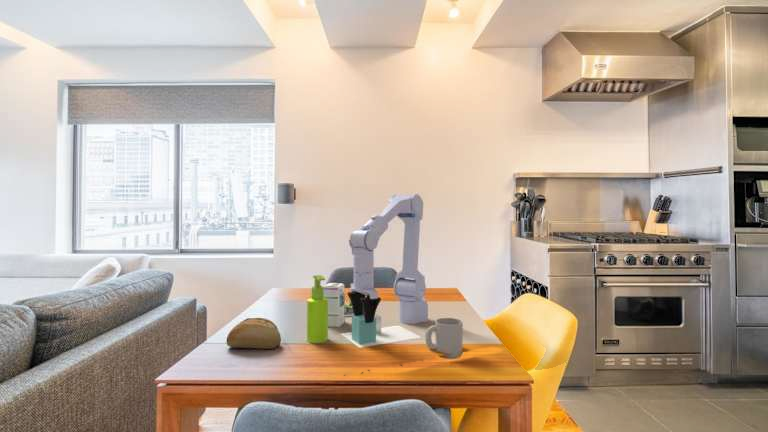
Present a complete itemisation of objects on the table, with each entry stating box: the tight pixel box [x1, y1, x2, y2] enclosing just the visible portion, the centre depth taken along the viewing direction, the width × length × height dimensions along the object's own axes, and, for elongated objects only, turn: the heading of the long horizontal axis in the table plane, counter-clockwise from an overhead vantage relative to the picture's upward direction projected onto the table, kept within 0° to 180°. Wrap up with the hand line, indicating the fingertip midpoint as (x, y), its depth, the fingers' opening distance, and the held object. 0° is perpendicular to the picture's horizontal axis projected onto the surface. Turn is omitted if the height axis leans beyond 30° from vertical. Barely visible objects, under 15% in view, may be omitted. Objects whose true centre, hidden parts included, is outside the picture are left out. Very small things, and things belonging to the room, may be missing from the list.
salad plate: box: [345, 301, 364, 319], centre depth 152 cm, size 19×18×5 cm
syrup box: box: [322, 282, 346, 328], centre depth 133 cm, size 6×6×14 cm
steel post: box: [374, 314, 382, 334], centre depth 124 cm, size 3×3×5 cm
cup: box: [424, 317, 464, 360], centre depth 109 cm, size 7×10×9 cm
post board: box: [340, 325, 422, 349], centre depth 121 cm, size 20×14×2 cm
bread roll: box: [226, 317, 282, 350], centre depth 115 cm, size 10×15×8 cm, turn 94°
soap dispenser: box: [306, 274, 329, 344], centre depth 116 cm, size 6×7×20 cm
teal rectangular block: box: [351, 314, 376, 344], centre depth 116 cm, size 5×5×7 cm
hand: (363, 319), depth 116 cm, fingers open, 7 cm apart
